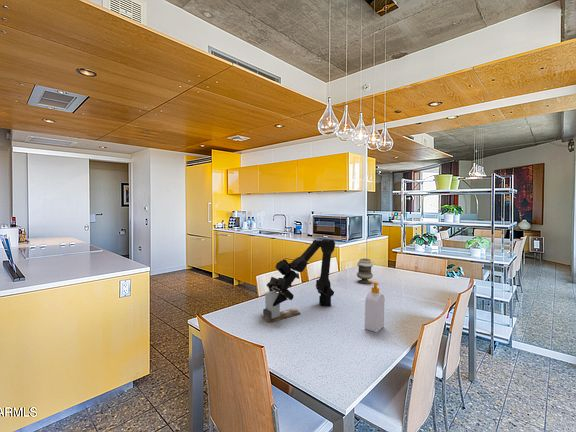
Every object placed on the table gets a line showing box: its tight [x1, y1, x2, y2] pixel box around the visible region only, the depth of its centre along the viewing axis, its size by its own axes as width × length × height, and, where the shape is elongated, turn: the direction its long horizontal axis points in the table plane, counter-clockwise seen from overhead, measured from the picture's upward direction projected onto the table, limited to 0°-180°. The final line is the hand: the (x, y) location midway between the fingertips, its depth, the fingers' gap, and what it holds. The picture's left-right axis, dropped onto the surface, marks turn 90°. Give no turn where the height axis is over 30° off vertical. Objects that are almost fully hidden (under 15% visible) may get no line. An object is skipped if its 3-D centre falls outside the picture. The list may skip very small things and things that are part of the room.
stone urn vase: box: [356, 257, 374, 285], centre depth 222 cm, size 12×12×18 cm
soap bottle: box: [364, 280, 385, 333], centre depth 142 cm, size 9×7×23 cm
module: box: [264, 291, 281, 319], centre depth 151 cm, size 5×6×12 cm
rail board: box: [262, 307, 302, 323], centre depth 155 cm, size 20×7×5 cm, turn 126°
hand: (270, 304), depth 150 cm, fingers closed on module, 6 cm apart
